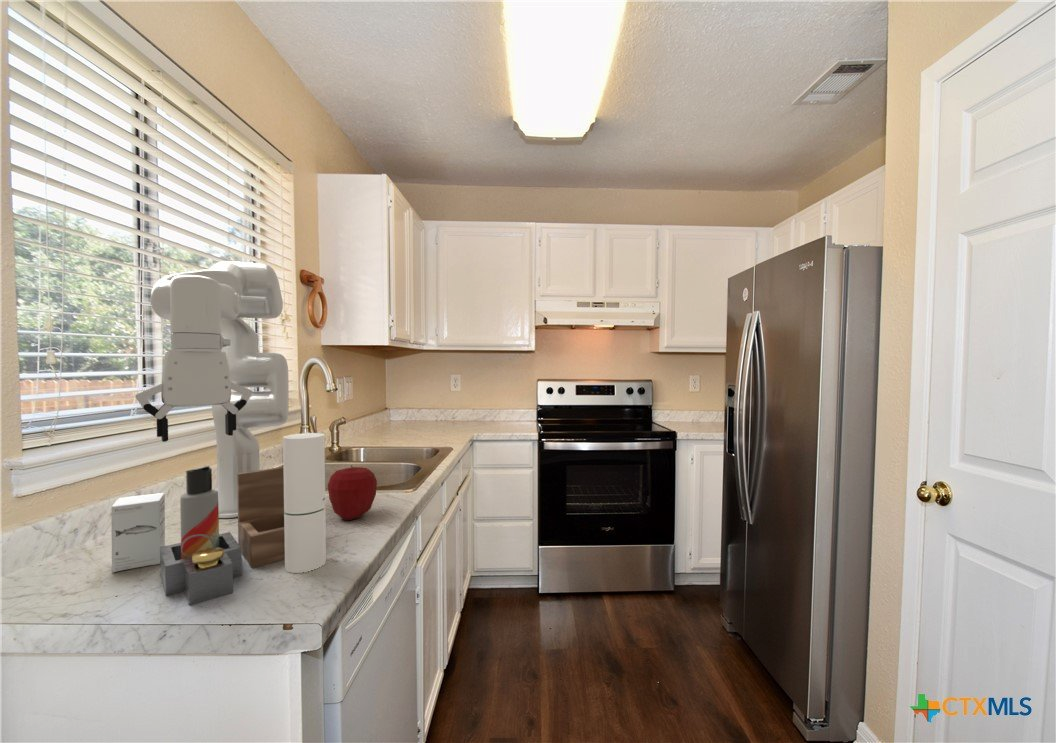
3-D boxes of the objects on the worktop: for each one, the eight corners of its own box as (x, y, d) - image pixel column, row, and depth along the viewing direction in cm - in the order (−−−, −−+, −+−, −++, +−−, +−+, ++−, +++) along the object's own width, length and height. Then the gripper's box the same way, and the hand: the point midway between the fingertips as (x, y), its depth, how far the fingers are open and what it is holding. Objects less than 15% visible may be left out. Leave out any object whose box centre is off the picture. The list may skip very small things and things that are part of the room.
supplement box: (110, 574, 85) (109, 506, 84) (119, 559, 91) (118, 496, 91) (161, 564, 88) (159, 500, 88) (166, 551, 95) (165, 491, 95)
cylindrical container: (330, 555, 92) (328, 432, 92) (320, 571, 85) (318, 438, 85) (292, 558, 91) (290, 433, 90) (279, 574, 84) (277, 439, 83)
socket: (160, 573, 84) (159, 547, 84) (230, 556, 92) (229, 532, 92) (169, 611, 71) (169, 579, 71) (249, 587, 79) (249, 558, 79)
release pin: (191, 586, 78) (190, 552, 77) (221, 577, 81) (221, 545, 80) (194, 595, 74) (193, 560, 74) (226, 586, 77) (225, 552, 77)
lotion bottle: (199, 583, 81) (197, 470, 80) (173, 580, 82) (171, 469, 82) (227, 569, 86) (225, 464, 86) (202, 566, 87) (200, 462, 87)
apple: (366, 525, 109) (366, 470, 109) (318, 525, 109) (318, 470, 109) (383, 509, 121) (383, 459, 121) (340, 509, 121) (339, 459, 121)
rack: (238, 549, 96) (237, 473, 95) (295, 535, 103) (294, 465, 103) (251, 568, 87) (250, 484, 86) (312, 551, 94) (311, 474, 94)
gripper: (246, 346, 92) (247, 431, 92) (133, 344, 80) (135, 441, 80) (255, 344, 86) (256, 434, 87) (135, 342, 75) (137, 446, 75)
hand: (198, 437), depth 83 cm, fingers open, 9 cm apart
